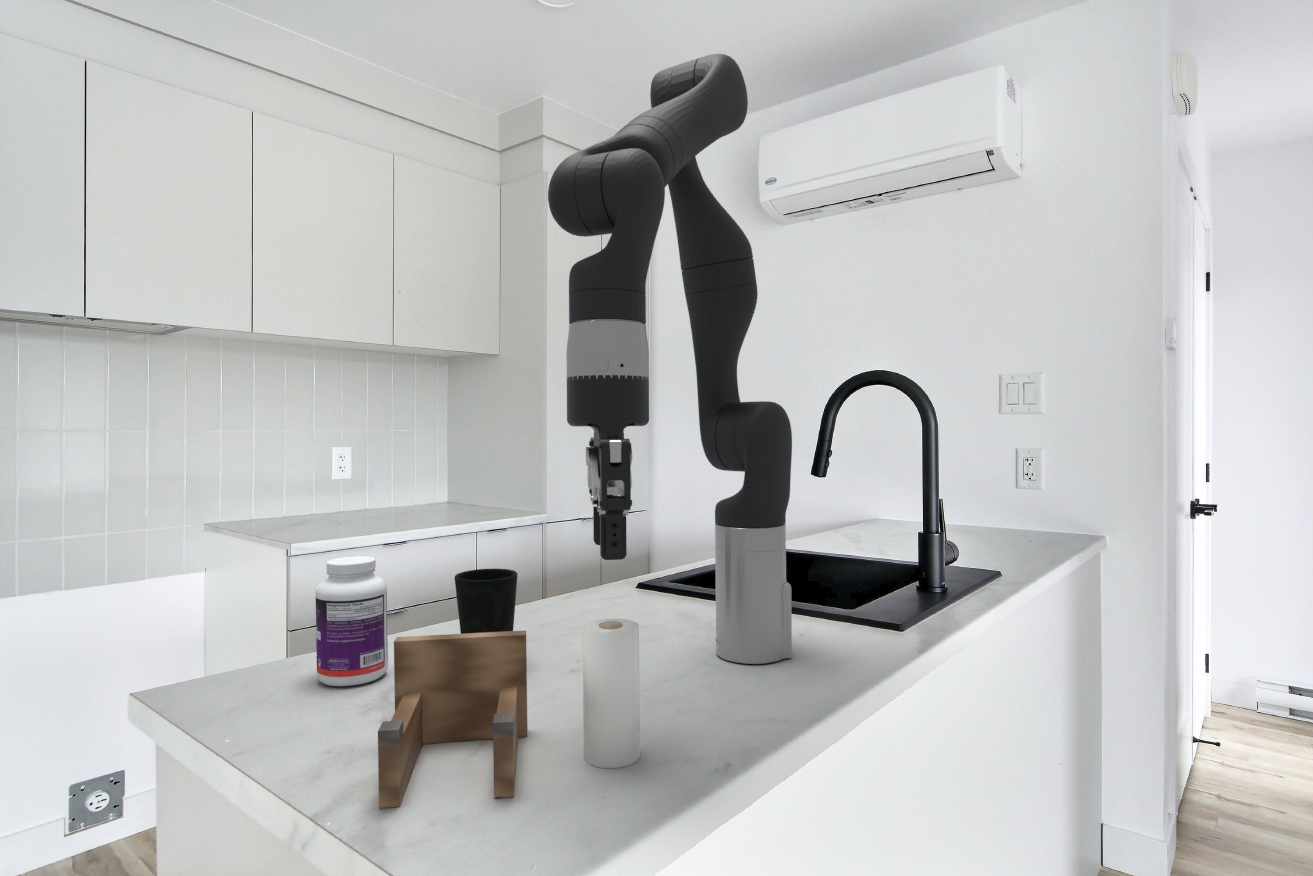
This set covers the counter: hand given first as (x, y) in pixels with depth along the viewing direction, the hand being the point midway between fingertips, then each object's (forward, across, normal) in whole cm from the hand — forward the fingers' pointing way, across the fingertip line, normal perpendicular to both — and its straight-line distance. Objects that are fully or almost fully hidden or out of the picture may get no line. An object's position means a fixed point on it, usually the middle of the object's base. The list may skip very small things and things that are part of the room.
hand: (608, 551), depth 69 cm
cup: (+19, +27, +13) cm, 35 cm away
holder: (+19, +1, +14) cm, 23 cm away
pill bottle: (+19, +27, +29) cm, 44 cm away
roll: (+19, 0, 0) cm, 19 cm away
